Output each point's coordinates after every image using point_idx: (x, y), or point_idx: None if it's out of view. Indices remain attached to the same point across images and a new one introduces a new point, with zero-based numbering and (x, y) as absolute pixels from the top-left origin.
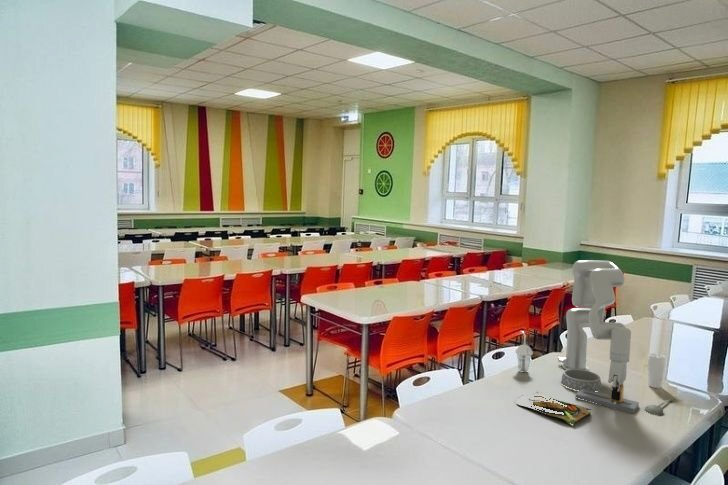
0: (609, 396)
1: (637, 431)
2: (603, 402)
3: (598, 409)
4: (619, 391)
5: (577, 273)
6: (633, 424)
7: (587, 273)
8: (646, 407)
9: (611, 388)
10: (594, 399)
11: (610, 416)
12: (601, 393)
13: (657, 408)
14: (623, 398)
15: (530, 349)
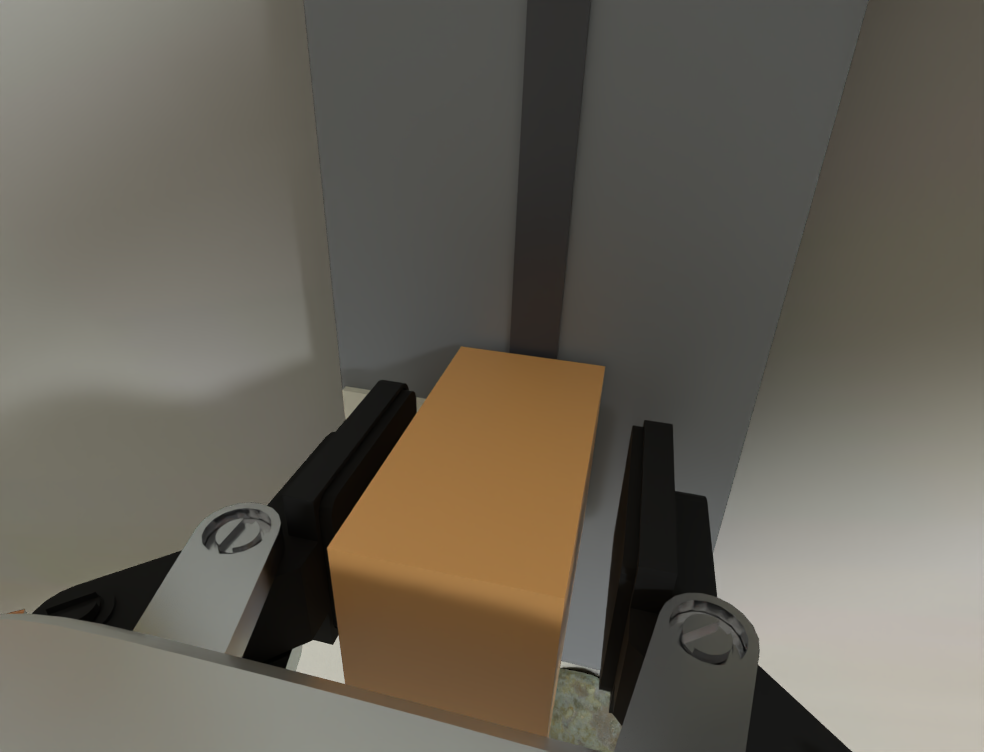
0: (680, 293)
1: (33, 570)
2: (337, 224)
3: (171, 169)
4: (331, 634)
5: None
6: (130, 551)
7: None
8: (610, 714)
9: (361, 496)
10: (310, 29)
11: (103, 351)
12: (800, 87)
13: None
14: (719, 520)
15: None
